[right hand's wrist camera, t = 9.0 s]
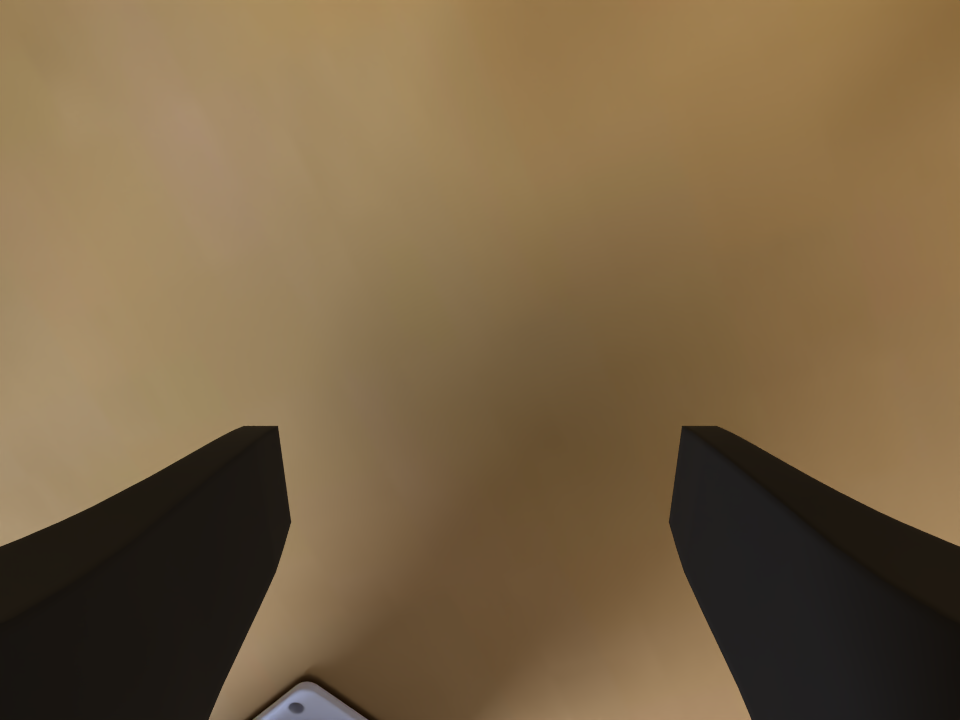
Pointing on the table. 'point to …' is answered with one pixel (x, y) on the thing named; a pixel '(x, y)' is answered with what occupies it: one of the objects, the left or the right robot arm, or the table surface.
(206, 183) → the table surface
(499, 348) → the table surface
